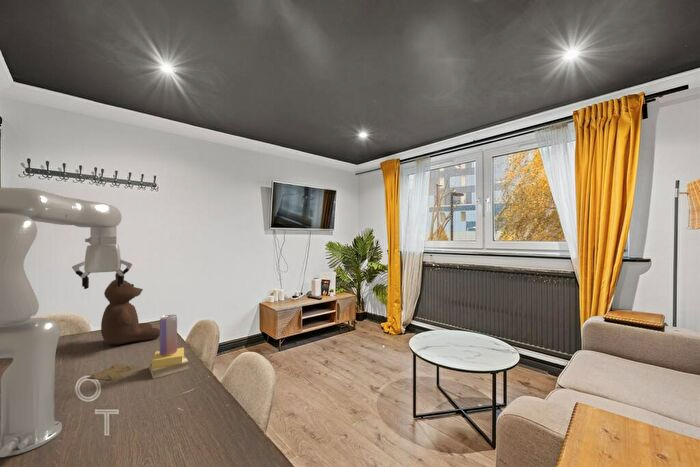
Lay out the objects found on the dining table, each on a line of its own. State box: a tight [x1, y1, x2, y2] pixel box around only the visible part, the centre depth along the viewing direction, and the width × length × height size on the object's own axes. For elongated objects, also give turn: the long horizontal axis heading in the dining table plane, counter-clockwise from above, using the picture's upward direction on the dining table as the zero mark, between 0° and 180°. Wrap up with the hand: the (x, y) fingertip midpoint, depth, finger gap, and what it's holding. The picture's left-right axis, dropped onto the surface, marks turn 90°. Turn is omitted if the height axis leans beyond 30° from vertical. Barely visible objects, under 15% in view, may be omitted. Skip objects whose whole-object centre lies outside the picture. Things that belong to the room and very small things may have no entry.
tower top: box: [151, 347, 185, 368], centre depth 119 cm, size 10×10×3 cm
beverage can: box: [159, 314, 178, 356], centre depth 119 cm, size 6×6×15 cm
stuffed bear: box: [100, 272, 160, 346], centre depth 152 cm, size 29×23×35 cm
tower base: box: [148, 355, 190, 380], centre depth 119 cm, size 12×12×3 cm
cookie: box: [87, 363, 141, 382], centre depth 116 cm, size 12×12×1 cm
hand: (103, 287), depth 110 cm, fingers open, 9 cm apart
